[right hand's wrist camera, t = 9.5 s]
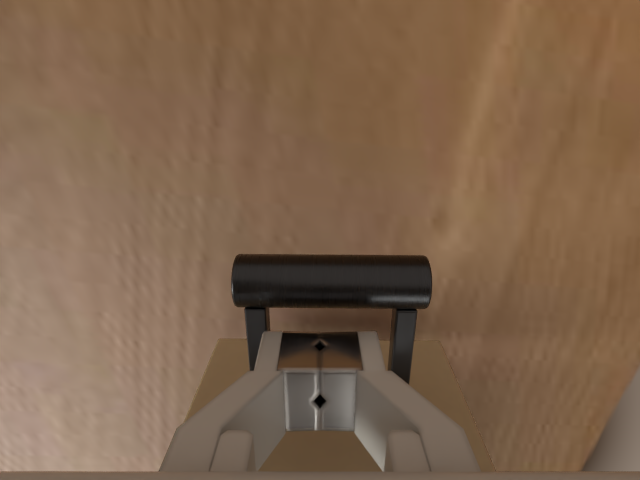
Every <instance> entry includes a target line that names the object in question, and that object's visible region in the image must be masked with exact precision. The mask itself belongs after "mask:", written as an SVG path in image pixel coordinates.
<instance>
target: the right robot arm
mask: <svg viewBox="0 0 640 480" xmlns="http://www.w3.org/2000/svg"><path fill="white" fill-rule="evenodd" d="M286 431H354V433H355V435H356V436H357V437H358V439H359V440H360V441H361V443H362V444H363V445H364V447H365V448H366V450H367V451H368V452H369V454H370V455H371V456H372V458H373V459H374V460H375V462H376V463H377V464H378V466H379V467H380V469H381V470H382V471H383V472H295V471H258V470H259V469H260V467H261V466H262V465H263V463H264V462H265V461H266V459H267V458H268V457H269V455H270V454H271V453H272V451H273V450H274V449H275V447H276V446H277V444H278V443H279V442H280V440H281V439H282V438H283V436H284V435H285V434H286ZM0 480H640V472H481V470H480V467H479V465H478V462H477V460H476V458H475V455H474V453H473V450H472V448H471V446H470V443H469V441H468V438H467V436H466V434H465V431H464V429H463V428H462V427H461V426H459V425H458V424H457V423H456V422H454V421H453V420H452V419H451V418H449V417H448V416H447V415H446V414H445V413H443V412H442V411H441V410H440V409H438V408H437V407H436V406H435V405H433V404H432V403H431V402H430V401H428V400H427V399H426V398H425V397H423V396H422V395H421V394H420V393H419V392H417V391H416V390H415V389H414V388H412V387H411V386H410V385H409V384H407V383H406V382H405V381H404V380H402V379H401V378H400V377H399V376H398V375H396V374H395V373H394V372H393V371H386V368H385V364H384V359H383V355H382V351H381V347H380V343H379V338H378V334H377V332H376V331H357V332H304V331H283V332H282V331H264V332H263V334H262V338H261V342H260V346H259V351H258V355H257V359H256V364H255V368H254V371H247V372H246V373H245V374H244V375H242V376H241V377H240V378H239V379H238V380H236V381H235V382H234V383H233V384H231V385H230V386H229V387H228V388H226V389H225V390H224V391H223V392H221V393H220V394H219V395H218V396H216V397H215V398H214V399H213V400H211V401H210V402H209V403H208V404H206V405H205V406H204V407H203V408H201V409H200V410H199V411H198V412H196V413H195V414H194V415H193V416H191V417H190V418H189V419H188V420H187V421H185V422H184V423H183V424H182V425H180V426H179V427H178V428H177V429H176V432H175V434H174V436H173V439H172V441H171V444H170V446H169V448H168V451H167V453H166V455H165V458H164V460H163V462H162V465H161V467H160V470H159V472H82V471H0Z"/></svg>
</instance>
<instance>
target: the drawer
mask: <svg viewBox="0 0 640 480" xmlns="http://www.w3.org/2000/svg"><path fill="white" fill-rule="evenodd" d="M231 290H232V298H233V302H234V305H235V306H236V307H245V321H246V333H247V339H218V341H217V344H216V346H215V349H214V351H213V353H212V356H211V358H210V361H209V363H208V365H207V368H206V370H205V373H204V375H203V377H202V380H201V382H200V385H199V387H198V389H197V392H196V394H195V397H194V399H193V401H192V404H191V406H190V409H189V411H188V413H187V416H186V418H185V421H187V420H188V419H189V418H190V417H191V416H193V415H194V414H195V413H196V412H198V411H199V410H200V409H201V408H203V407H204V406H205V405H206V404H208V403H209V402H210V401H211V400H213V399H214V398H215V397H216V396H218V395H219V394H220V393H221V392H223V391H224V390H225V389H226V388H228V387H229V386H230V385H231V384H233V383H234V382H235V381H236V380H238V379H239V378H240V377H241V376H242V375H244V374H245V373H246V372H247V371H254V368H255V364H256V359H257V355H258V351H259V346H260V342H261V338H262V334H263V332H264V331H270V319H269V308H375V309H392V322H391V334H390V340H379V343H380V347H381V351H382V355H383V359H384V364H385V368H386V371H393V372H394V373H395V374H396V375H398V376H399V377H400V378H401V379H402V380H404V381H405V382H406V383H407V384H409V385H410V386H411V387H412V388H414V389H415V390H416V391H417V392H419V393H420V394H421V395H422V396H423V397H425V398H426V399H427V400H428V401H430V402H431V403H432V404H433V405H435V406H436V407H437V408H438V409H440V410H441V411H442V412H443V413H445V414H446V415H447V416H448V417H449V418H451V419H452V420H453V421H454V422H456V423H457V424H458V425H459V426H461V427H462V428H463V429H464V431H465V434H466V436H467V438H468V441H469V443H470V446H471V448H472V450H473V453H474V455H475V458H476V460H477V462H478V465H479V467H480V470H481V472H496V470H495V468H494V466H493V463H492V461H491V459H490V456H489V454H488V452H487V450H486V447H485V445H484V443H483V440H482V438H481V436H480V433H479V431H478V429H477V426H476V424H475V422H474V419H473V417H472V415H471V412H470V410H469V408H468V405H467V403H466V401H465V398H464V396H463V394H462V392H461V389H460V387H459V385H458V382H457V380H456V378H455V375H454V373H453V371H452V368H451V366H450V364H449V361H448V359H447V357H446V354H445V352H444V350H443V347H442V345H441V343H440V341H414V337H415V328H416V318H417V310H416V309H426V308H427V307H428V306H429V303H430V300H431V294H432V274H431V268H430V264H429V261H428V259H427V257H426V256H423V255H292V254H239V255H237V256H236V258H235V260H234V263H233V268H232V277H231ZM185 421H184V422H185ZM258 471H295V472H383V471H382V470H381V469H380V467H379V466H378V464H377V463H376V462H375V460H374V459H373V458H372V456H371V455H370V454H369V452H368V451H367V450H366V448H365V447H364V445H363V444H362V443H361V441H360V440H359V439H358V437H357V436H356V435H355V433H354V431H286V434H285V435H284V436H283V438H282V439H281V440H280V442H279V443H278V444H277V446H276V447H275V449H274V450H273V451H272V453H271V454H270V455H269V457H268V458H267V459H266V461H265V462H264V463H263V465H262V466H261V467H260V469H259V470H258Z"/></svg>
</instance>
